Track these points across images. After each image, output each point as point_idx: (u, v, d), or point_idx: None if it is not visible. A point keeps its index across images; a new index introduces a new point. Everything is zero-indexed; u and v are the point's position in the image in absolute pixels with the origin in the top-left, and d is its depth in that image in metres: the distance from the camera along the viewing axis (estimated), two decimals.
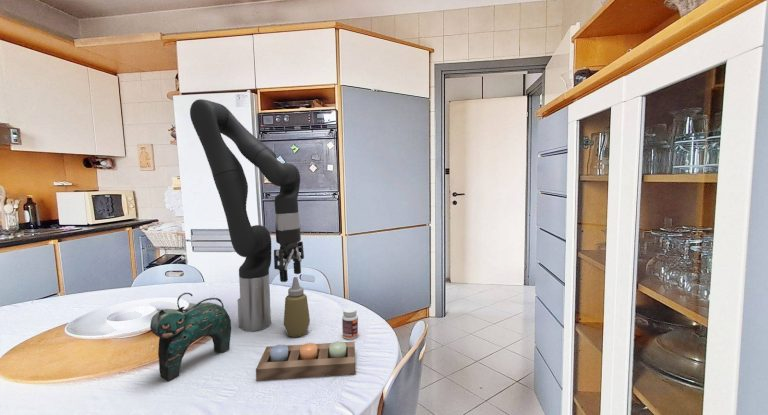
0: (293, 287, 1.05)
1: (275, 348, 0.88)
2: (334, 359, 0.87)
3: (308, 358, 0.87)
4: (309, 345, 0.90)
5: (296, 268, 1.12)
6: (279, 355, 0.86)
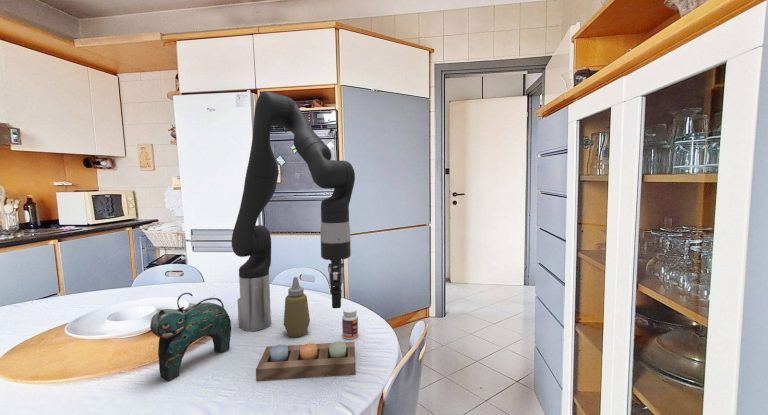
0: (293, 287, 1.05)
1: (275, 348, 0.88)
2: (334, 359, 0.87)
3: (308, 358, 0.87)
4: (309, 345, 0.90)
5: None
6: (279, 355, 0.86)
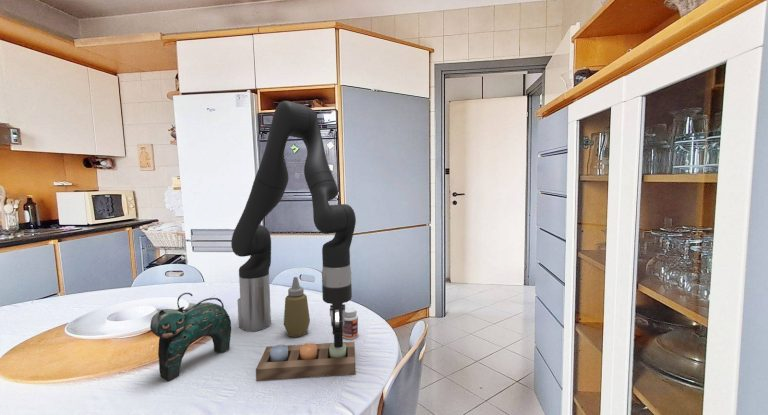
0: (293, 287, 1.05)
1: (275, 348, 0.88)
2: (334, 359, 0.87)
3: (308, 358, 0.87)
4: (309, 345, 0.90)
5: None
6: (279, 355, 0.86)
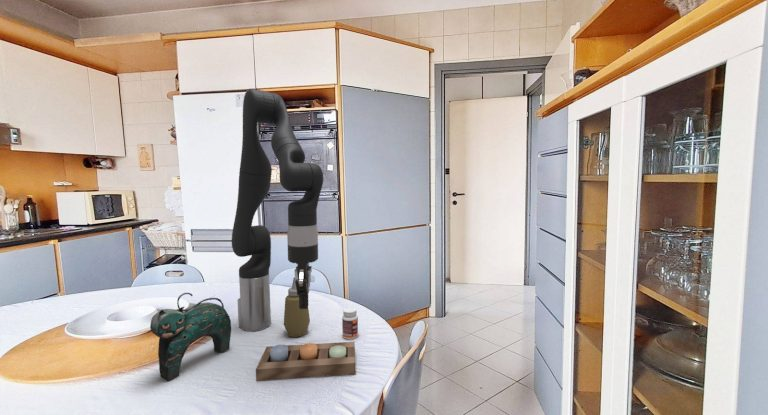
0: (293, 287, 1.05)
1: (275, 348, 0.88)
2: (334, 359, 0.87)
3: (308, 358, 0.87)
4: (309, 345, 0.90)
5: None
6: (279, 355, 0.86)
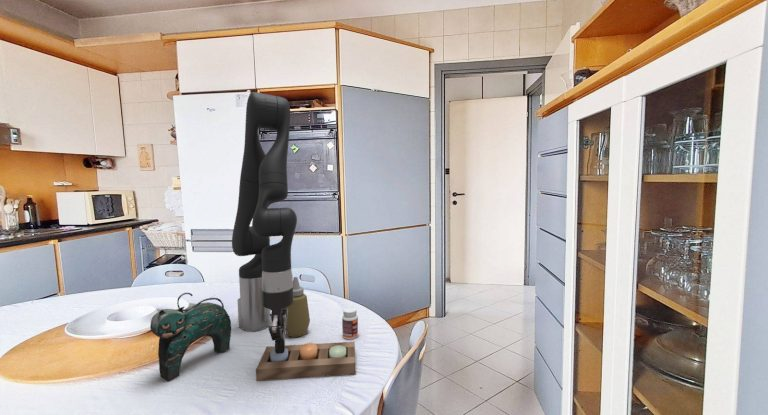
0: (293, 287, 1.05)
1: None
2: (334, 359, 0.87)
3: (308, 358, 0.87)
4: (309, 345, 0.90)
5: None
6: (279, 358, 0.86)
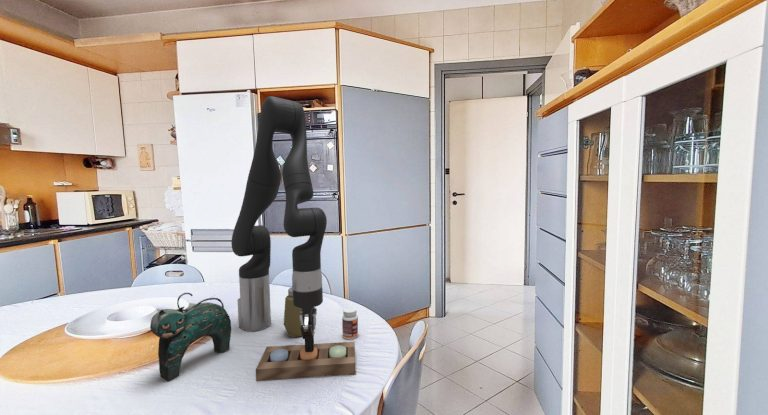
0: None
1: (275, 352, 0.88)
2: (334, 359, 0.87)
3: None
4: None
5: None
6: (279, 360, 0.86)
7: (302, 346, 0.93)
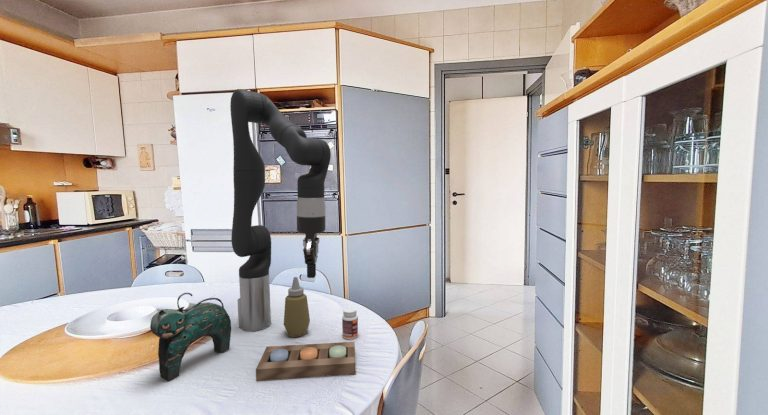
0: (293, 287, 1.05)
1: (275, 352, 0.88)
2: (334, 359, 0.87)
3: None
4: (309, 349, 0.90)
5: None
6: (279, 360, 0.86)
7: (302, 346, 0.93)
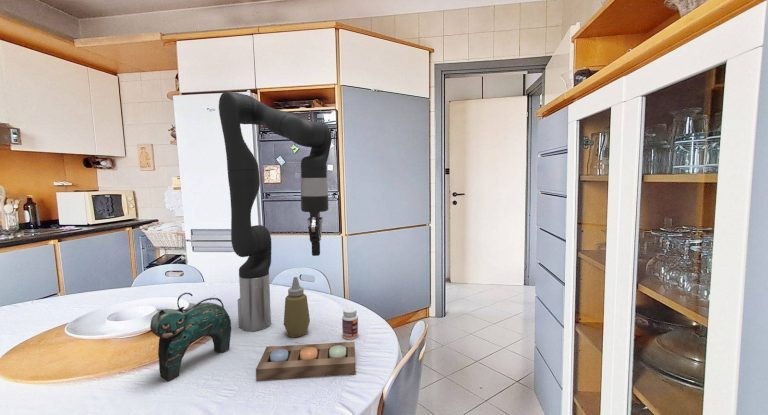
0: (293, 287, 1.05)
1: (275, 352, 0.88)
2: (334, 359, 0.87)
3: None
4: (309, 349, 0.90)
5: None
6: (279, 360, 0.86)
7: (302, 346, 0.93)
